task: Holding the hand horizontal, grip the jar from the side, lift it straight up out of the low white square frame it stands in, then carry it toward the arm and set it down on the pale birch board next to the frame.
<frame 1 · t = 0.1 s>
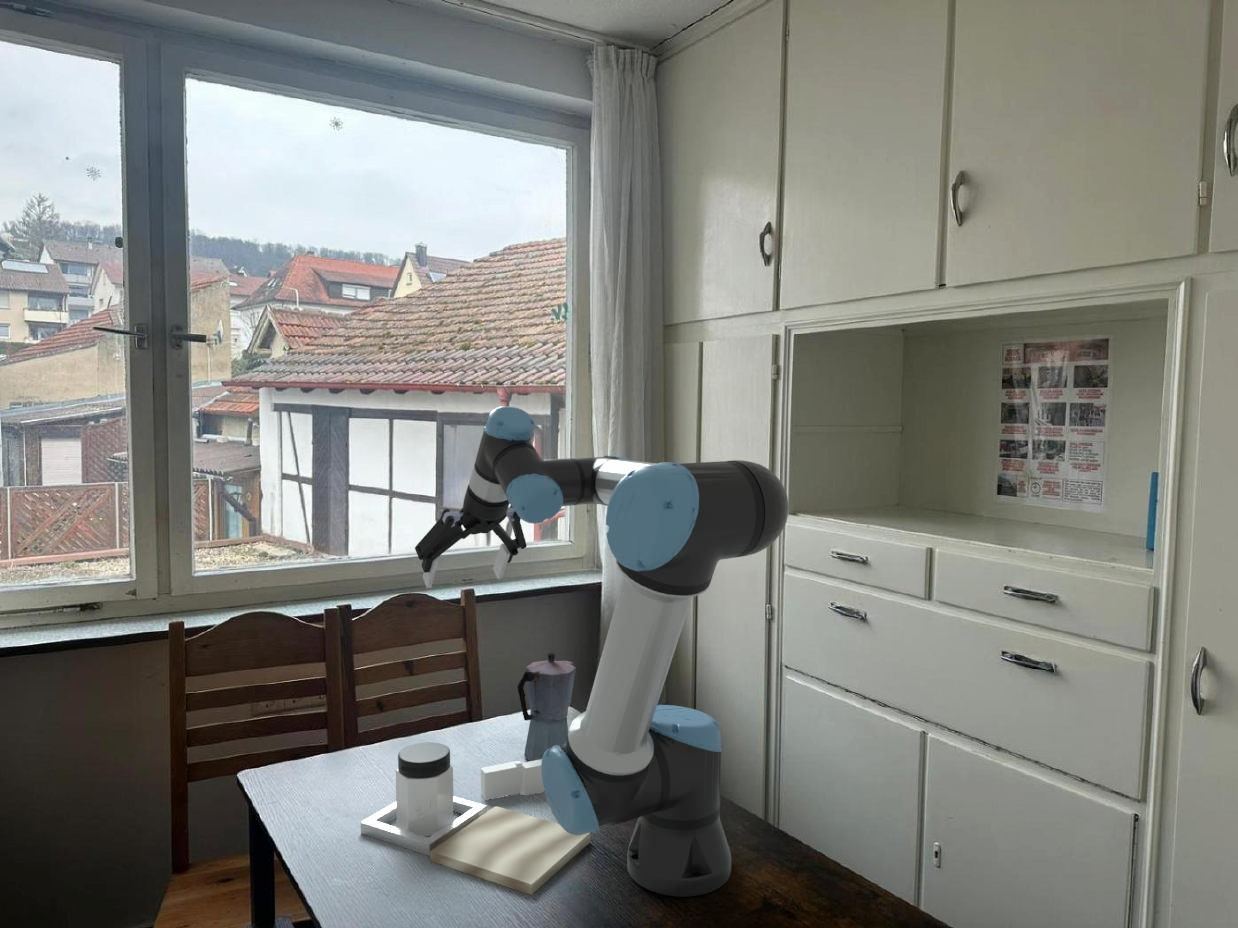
hand: (462, 578, 154), 36 cm above the table, tool tilted 35°, fingers open, 13 cm apart
white square frame: (425, 824, 137), on the table
board: (512, 851, 129), on the table
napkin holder: (519, 797, 148), on the table
moka pot: (546, 758, 163), on the table
jar: (425, 825, 137), resting in white square frame
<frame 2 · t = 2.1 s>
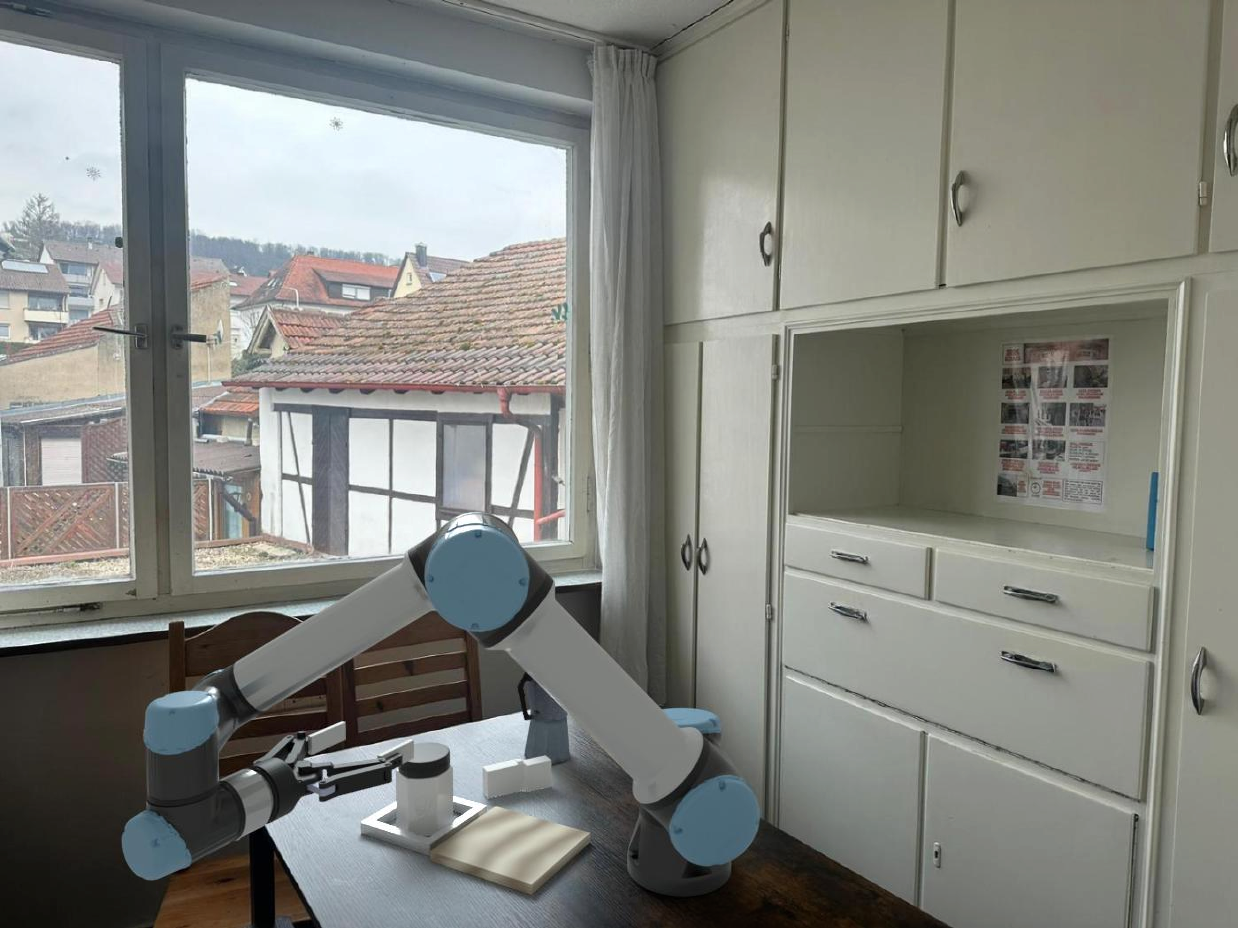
hand: (377, 738, 127), 18 cm above the table, tool horizontal, fingers open, 13 cm apart
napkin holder: (520, 794, 149), on the table
everything else where it was.
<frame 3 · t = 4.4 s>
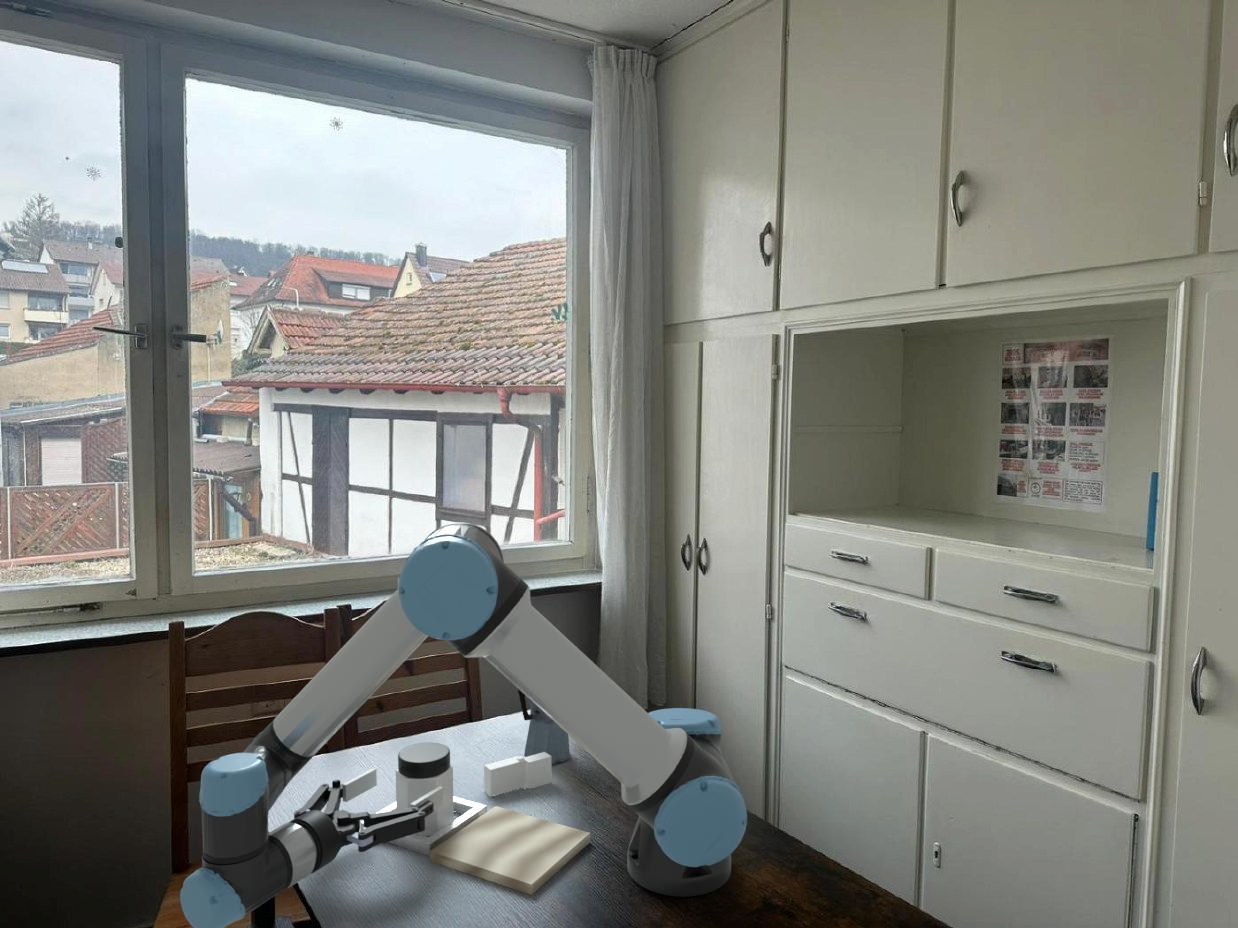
hand: (407, 785, 134), 8 cm above the table, tool horizontal, fingers open, 13 cm apart
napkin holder: (521, 791, 150), on the table
everything else where it was.
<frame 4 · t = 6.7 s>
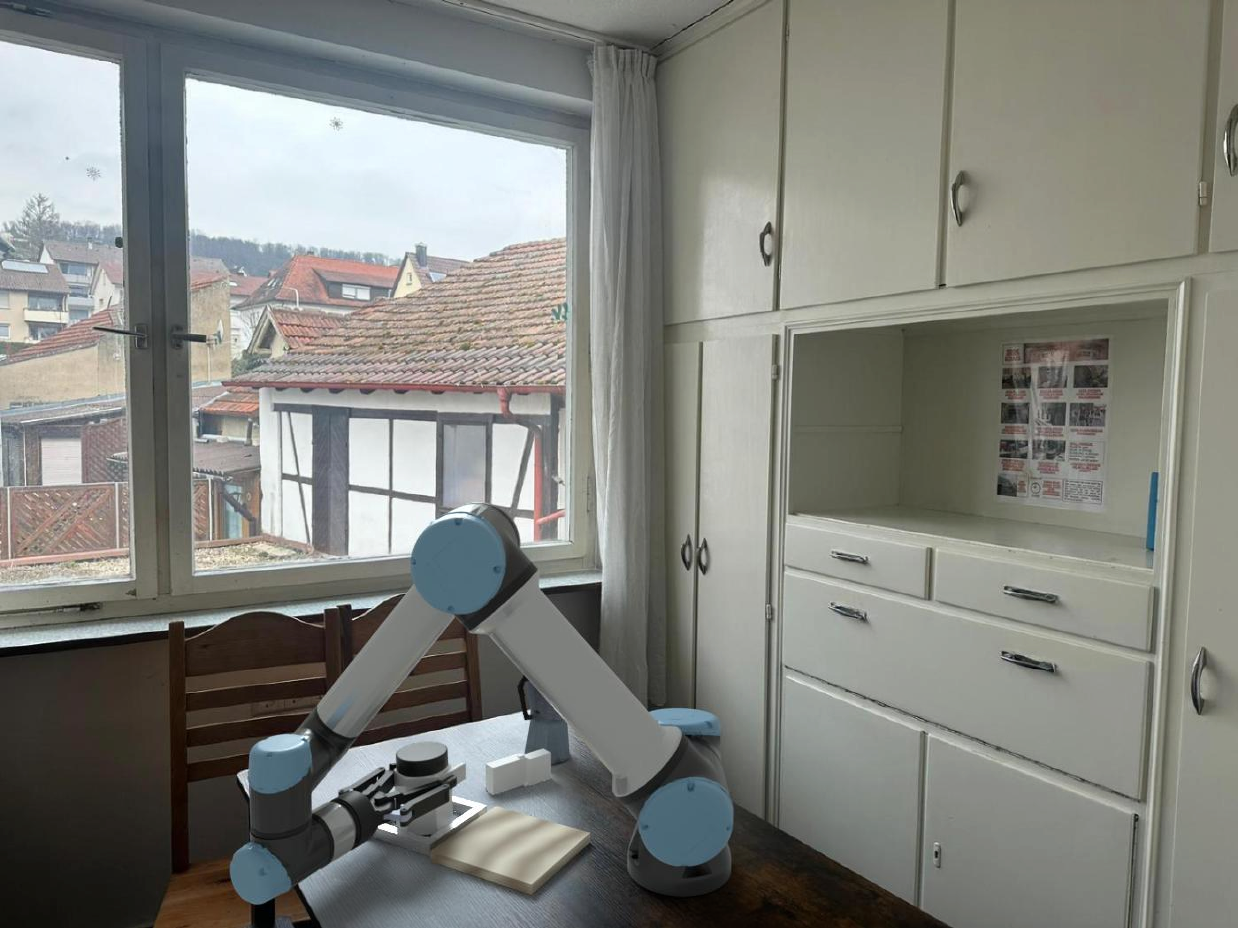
hand: (445, 765, 140), 8 cm above the table, tool horizontal, fingers closed on jar, 7 cm apart
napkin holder: (522, 788, 151), on the table
jar: (424, 824, 137), resting in white square frame, touching gripper
everything else where it was.
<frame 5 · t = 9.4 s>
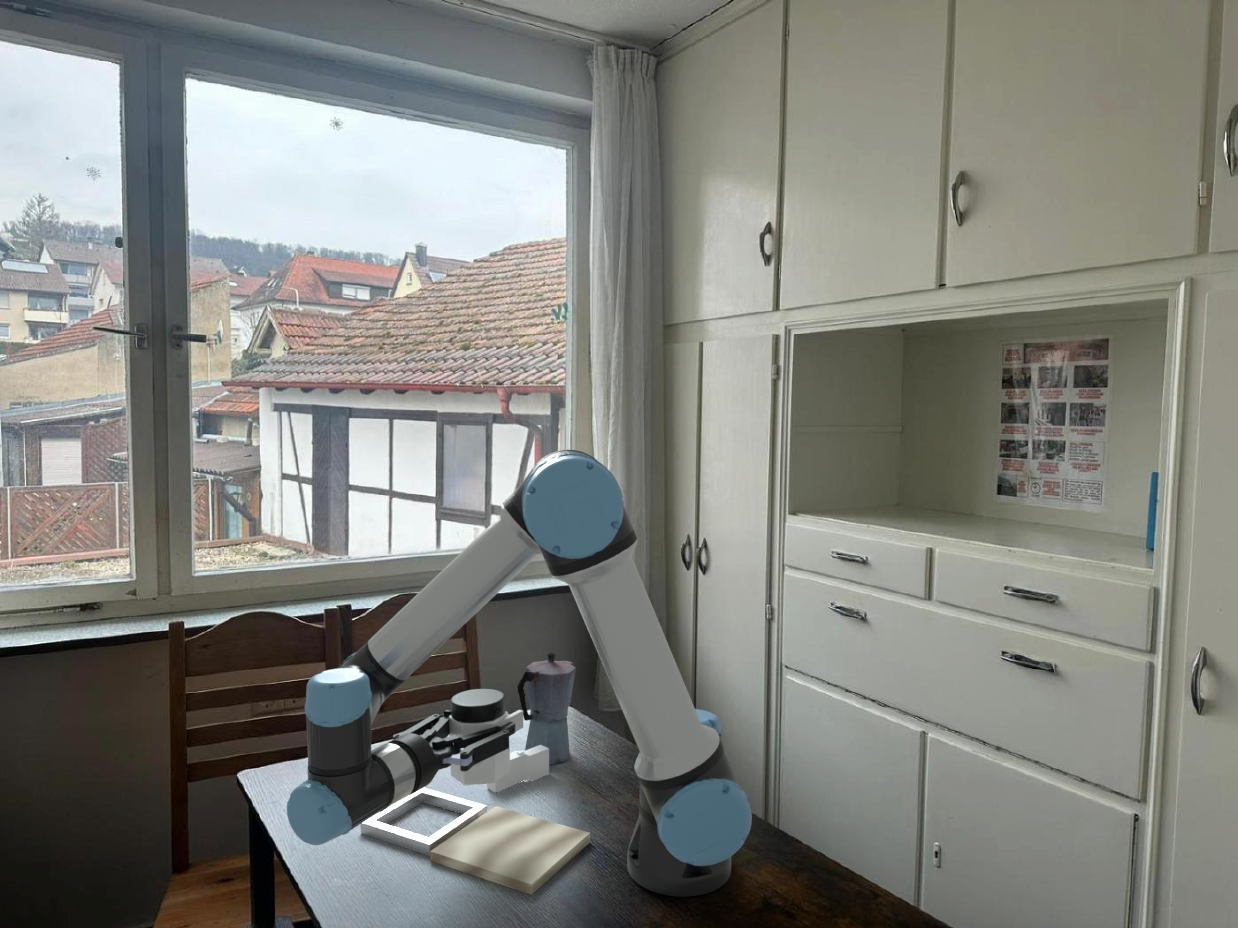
hand: (501, 714, 134), 19 cm above the table, tool horizontal, fingers closed on jar, 7 cm apart
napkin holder: (522, 785, 152), on the table
jar: (480, 775, 130), point 11 cm above the table, touching gripper
everything else where it was.
when the fingers open (11 cm above the table, at t = 12.3 s): jar moves 3 cm, resting on board.
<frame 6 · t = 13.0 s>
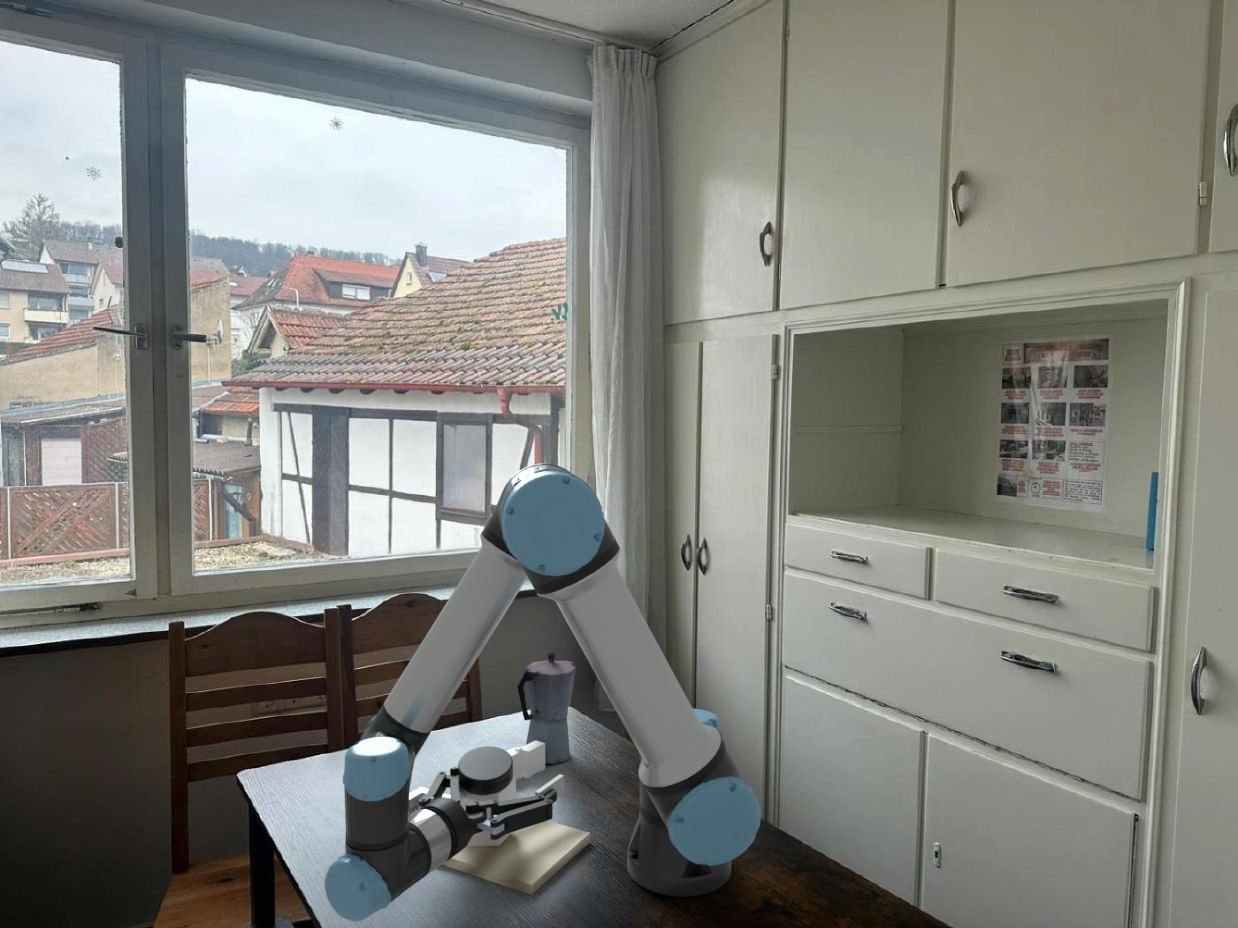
hand: (524, 773, 131), 11 cm above the table, tool horizontal, fingers open, 13 cm apart
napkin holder: (520, 780, 154), on the table
jar: (487, 829, 131), point 2 cm above the table, touching board, gripper
everything else where it was.
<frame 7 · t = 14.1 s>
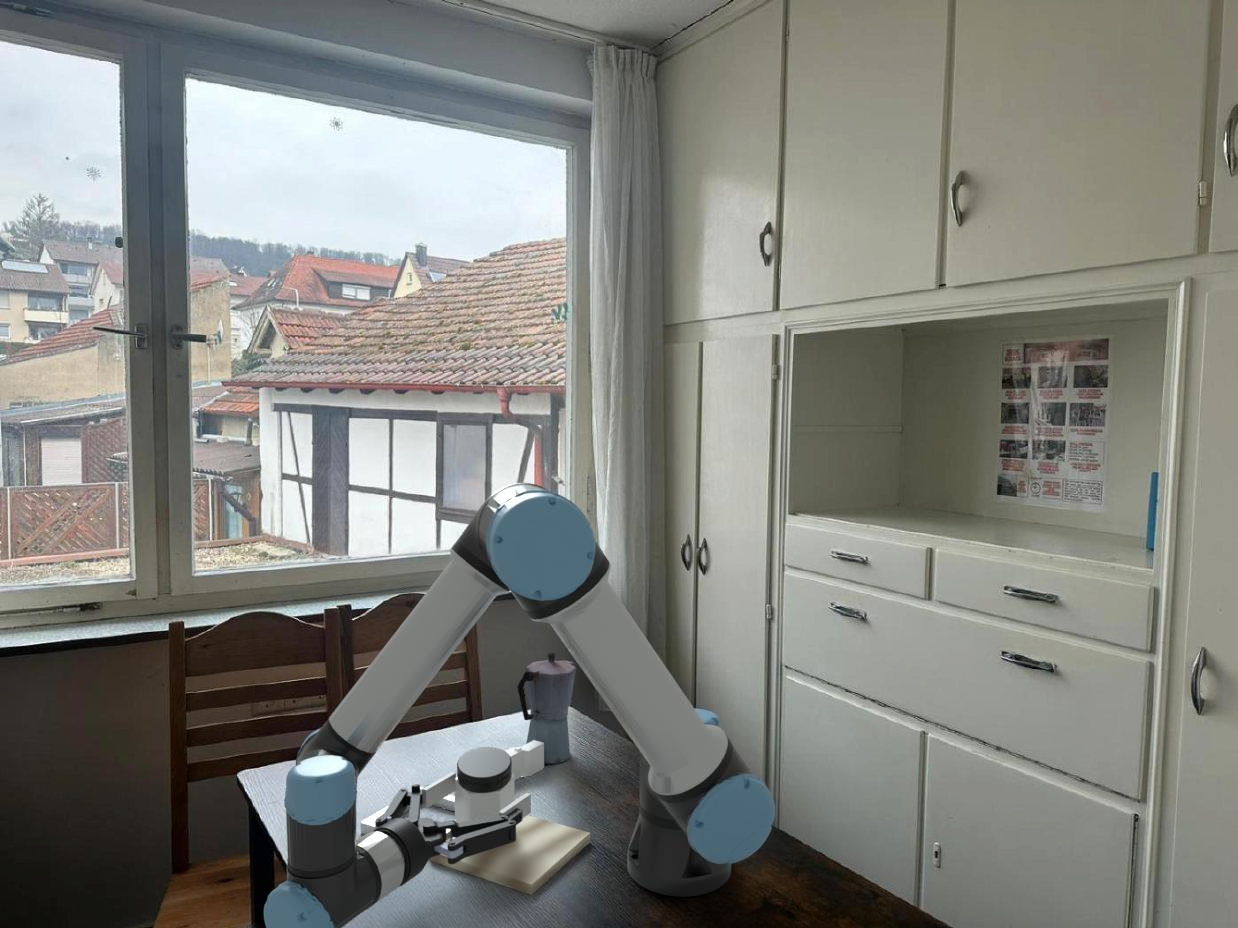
hand: (490, 791, 124), 11 cm above the table, tool horizontal, fingers open, 13 cm apart
jar: (484, 831, 131), point 2 cm above the table, touching board
everything else where it was.
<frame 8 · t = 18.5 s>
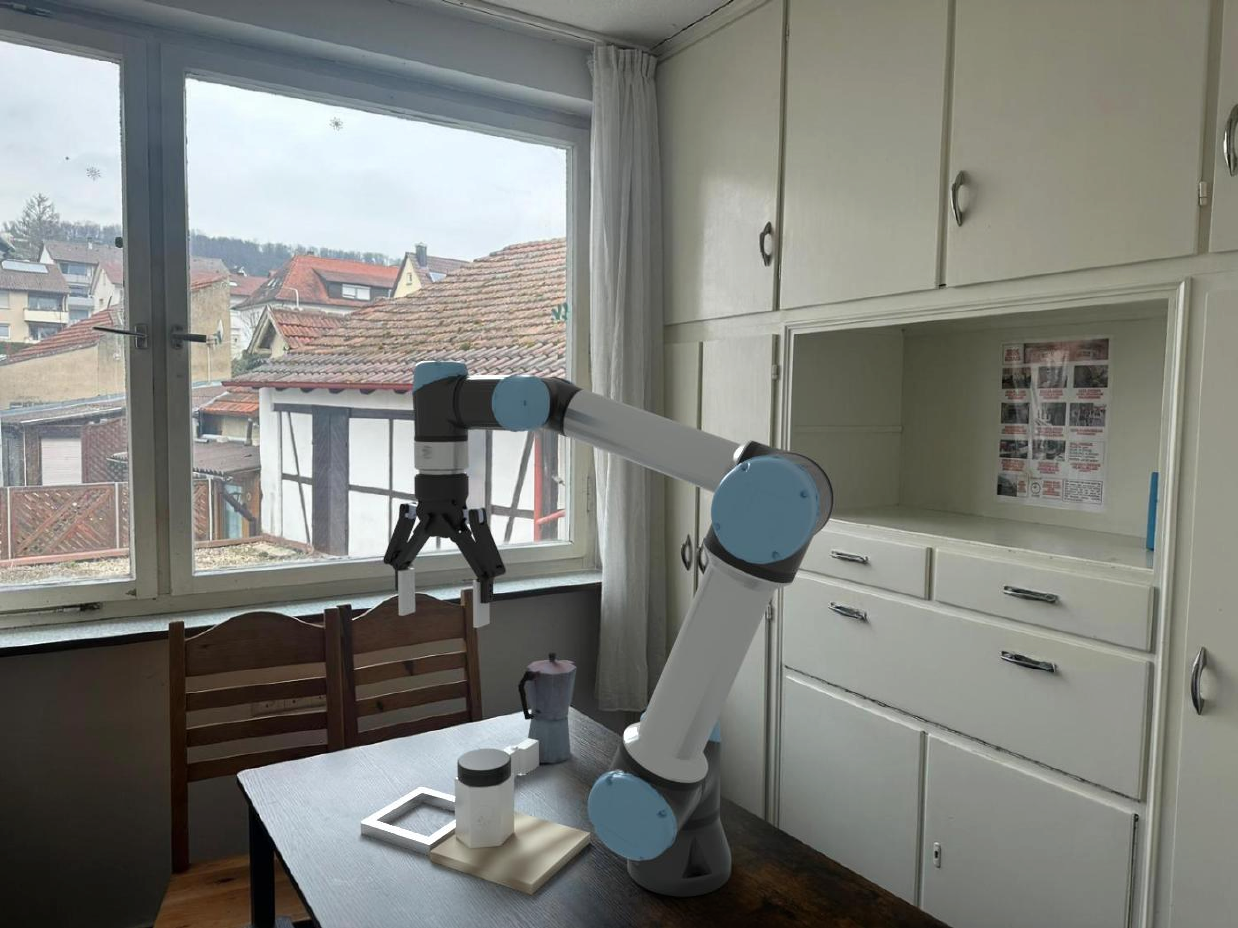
hand: (443, 619, 122), 37 cm above the table, tool pointing down, fingers open, 13 cm apart
at the end: jar inside the target area on the board (4.8 cm from its centre), point 1.3 cm above the board's base; jar tilted 0°; the gripper is holding nothing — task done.
